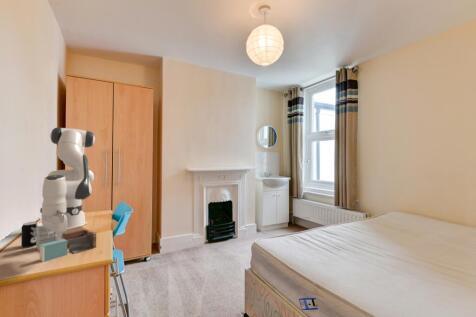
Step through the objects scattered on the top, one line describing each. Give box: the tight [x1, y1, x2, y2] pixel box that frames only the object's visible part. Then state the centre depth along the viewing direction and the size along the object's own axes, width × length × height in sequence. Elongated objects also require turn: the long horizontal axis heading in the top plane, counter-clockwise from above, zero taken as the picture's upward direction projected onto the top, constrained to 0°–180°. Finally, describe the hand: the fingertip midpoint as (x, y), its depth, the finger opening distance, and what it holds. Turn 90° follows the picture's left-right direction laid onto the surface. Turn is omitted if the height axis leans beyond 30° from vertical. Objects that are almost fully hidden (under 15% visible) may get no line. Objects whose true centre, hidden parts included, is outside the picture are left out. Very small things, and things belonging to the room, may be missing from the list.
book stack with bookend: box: [61, 225, 97, 254], centre depth 116 cm, size 18×10×9 cm, turn 56°
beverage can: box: [20, 221, 38, 249], centre depth 118 cm, size 7×7×12 cm
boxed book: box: [39, 239, 68, 263], centre depth 104 cm, size 4×9×7 cm, turn 146°
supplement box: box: [35, 222, 56, 252], centre depth 116 cm, size 7×7×13 cm
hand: (54, 239), depth 104 cm, fingers open, 8 cm apart
